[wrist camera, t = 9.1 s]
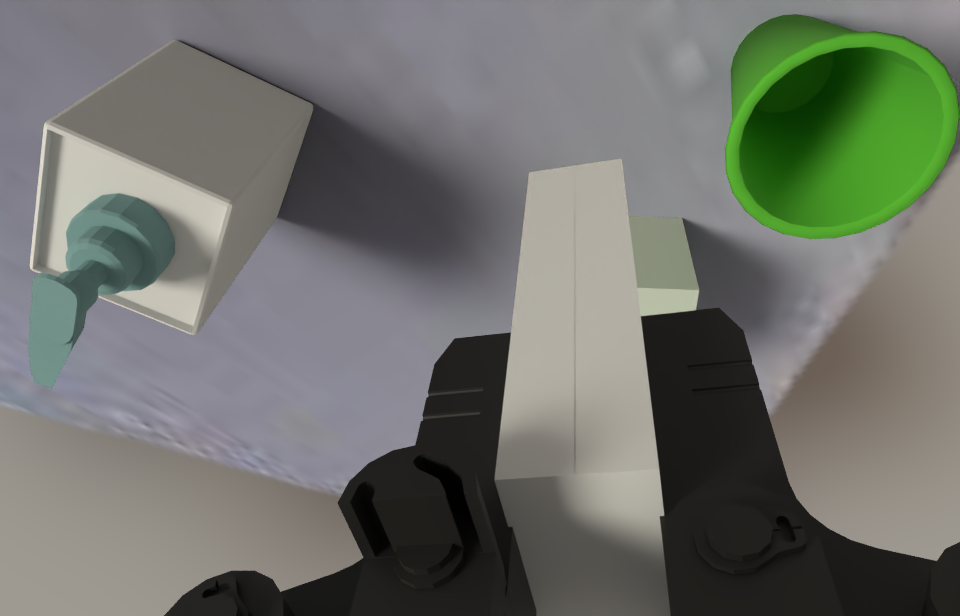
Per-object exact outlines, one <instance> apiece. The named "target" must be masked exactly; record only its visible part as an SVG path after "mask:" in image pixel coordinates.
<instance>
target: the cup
mask: <svg viewBox="0 0 960 616" xmlns="http://www.w3.org/2000/svg"><path fill="white" fill-rule="evenodd" d="M731 91H732V123H731V126H730V130H729V134H728V138H727V143H726V147H725V160H726V174H727V177H728V180H729V183H730V186H731V189H732V192H733V194H734V195H735V197H736V198H737V200H738V201H739V203H740V204H741V206H742V207H743V208H744V210H745V211H746V212H747V213H749V214H750V215H751V216H752V217H753V218H755V219H756V220H757V221H758V222H760V223H761V224H762V225H764V226H767V227H769V228H771V229H773V230H776V231H778V232H780V233H782V234H786V235H791V236H797V237H802V238H808V239H822V238H838V237H842V236H847V235H851V234H856V233H860V232H863V231H865V230H867V229H870V228H872V227H875V226H877V225H879V224H882V223H884V222H886V221H888V220H889V219H891V218H892V217H894V216H895V215H897V214H899V213H900V212H902V211H903V210H905V209H906V208H908V207H909V206H910V205H911V204H912V203H913V202H915V201H916V200H917V199H918V198H919V197H920V196H921V195H922V194H923V193H924V192H925V191H926V190H927V189H928V188H929V187H930V186H931V184H932V183H933V182H934V180H935V179H936V177H937V176H938V175H939V173H940V172H941V170H942V169H943V168H944V166H945V164H946V162H947V160H948V157H949V155H950V153H951V150H952V148H953V145H954V143H955V140H956V135H957V128H958V121H959V115H960V111H959V104H958V97H957V90H956V87H955V85H954V83H953V81H952V79H951V77H950V75H949V73H948V71H947V69H946V67H945V66H944V65H943V64H942V63H941V62H940V61H939V60H938V59H937V58H936V57H935V56H934V55H933V54H932V53H931V52H930V51H929V50H928V49H927V48H925V47H923V46H921V45H919V44H917V43H915V42H913V41H911V40H909V39H907V38H905V37H902V36H897V35H892V34H886V33H881V32H876V31H873V32H856V31H853V30H849V29H846V28H843V27H840V26H837V25H834V24H830V23H827V22H824V21H821V20H818V19H815V18H812V17H808V16H803V15H797V14H795V15H783V16H779V17H776V18H773V19H770V20H768V21H766V22H764V23H763V24H761V25H759V26H757V27H756V28H755V29H754V30H753V31H752V32H750V33H749V34H748V35H747V36H746V38H745V39H744V40H743V42H742V43H741V44H740V45H739V47H738V49H737V51H736V54H735V56H734V58H733V62H732V67H731Z"/></svg>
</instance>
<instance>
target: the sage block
mask: <svg viewBox="0 0 960 616" xmlns="http://www.w3.org/2000/svg"><path fill="white" fill-rule="evenodd" d="M629 224H630V232H631V241H632V249H633V257H634V265H635V274H636V282H637V290H638V298H639V306H640V315H641V316H648V315H657V314H666V313H676V312H685V311H694V310H696V306H697V300H698V295H699V287H698V283H697V279H696V274H695V270H694V266H693V262H692V258H691V254H690V249H689V245H688V241H687V237H686V233H685V229H684V224H683V220H682V218H673V217H639V216H629Z"/></svg>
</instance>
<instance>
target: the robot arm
mask: <svg viewBox="0 0 960 616" xmlns="http://www.w3.org/2000/svg"><path fill="white" fill-rule="evenodd" d="M428 394H429V397H427V399H426V403H425V407H424V411H423V421H421V424H420V428H419V432H418V437H417V441H416V445H415V446H411V447H407V448H402V449H398V450H393V451H391V452H389V453H387V454H385V455H383V456H381V457H380V458H378V459H376V460H374V461H372V462H370V463H368V464H367V465H366V466H365V467H364V468H363V469H362V470H361V471H360V472H359V473H358V474H357V475H356V476H355V477H353V478H352V479H351V480H350V481H349V483H348V485H347V487H346V488H345V490H344V492H343V494H342V496H341V498H340V499H339V501H338V505H339V507H340V509H341V511H342V513H343V515H344V517H345V519H346V522H347V523H348V526H349V528H350V530H351V532H352V534H353V536H354V538H355V540H356V542H357V544H358V547H359V549H360V551H361V553H362V555H363V557H364V558H363V559H361V560H360V561H358V562H357V563H355V564H354V565H352V566H350V567H348V568H345V569H343V570H341V571H339V572H336V573H334V574H331V575H329V576H325V577H323V578H320V579H317V580H314V581H311V582H308V583H305V584H302V585H299V586H296V587H294V588H291V589H288V590H285V591H282V592H280V591H279V589H278V588H277V586H276V584H275V583H274V581H273V579H271V578H269V577H267V576H265V575H263V574H260V573H258V572H256V571H230V572H227V573H224V574H221V575H218V576H215V577H213V578H210V579H207V580H205V581H204V582H202V583H201V584H199V585H198V586H196V587H195V588H193V589H192V590H190V591H189V592H188V593H186V594H185V595H183V596H182V597H181V598H180V599H179V600H178V601H177V603H175V605H174V606H173V607H172V608H171V609H170V610H169V611H168V612H167V613H166V614H165V615H164V616H960V542H959V543H957V544H955V545H953V546H951V547H948V548H946V549H945V550H944V552H943V553H942V555H941V556H940V558H939V559H938V560H937V561H933V560H929V559H924V558H920V557H915V556H911V555H906V554H901V553H896V552H892V551H888V550H883V549H878V548H875V547H871V546H868V545H865V544H862V543H858V542H855V541H852V540H850V539H847V538H846V537H844V536H842V535H840V534H838V533H836V532H834V531H832V530H830V529H828V528H827V527H826V526H824V525H823V524H822V523H820V522H819V521H818V520H816V519H815V518H814V517H812V516H811V515H810V514H809V513H808V512H807V510H806V509H805V508H804V507H803V506H802V505H801V503H800V502H799V501H798V500H797V499H796V496H795V494H794V492H793V490H792V488H791V486H790V484H789V481H788V478H787V475H786V471H785V468H784V465H783V461H782V458H781V455H780V451H779V448H778V445H777V442H776V438H775V435H774V432H773V428H772V425H771V422H770V418H769V415H768V412H767V408H766V405H765V402H764V398H763V395H762V392H761V390H760V388H759V382H758V378H757V375H756V372H755V369H754V365H752V359H751V355H750V352H749V349H748V345H747V342H746V339H745V335H744V332H743V330H742V329H741V328H740V327H739V326H738V325H737V324H735V323H734V322H733V321H732V320H731V319H730V318H729V317H728V316H727V315H726V314H725V313H724V312H723V311H722V310H721V309H720V308H713V309H704V310H694V311H685V312H676V313H666V314H657V315H648V316H641V315H640V306H639V298H638V290H637V282H636V274H635V265H634V257H633V249H632V241H631V232H630V224H629V216H628V208H627V199H626V191H625V183H624V175H623V166H622V159H616V160H609V161H602V162H596V163H589V164H582V165H576V166H569V167H563V168H556V169H549V170H543V171H536V172H529V179H528V188H527V197H526V206H525V214H524V223H523V232H522V241H521V250H520V259H519V267H518V276H517V285H516V294H515V303H514V312H513V320H512V329H511V333H503V334H493V335H484V336H474V337H465V338H456V339H454V340H453V341H452V343H451V344H450V345H449V346H448V348H447V349H446V350H445V352H444V353H443V354H442V355H441V357H440V358H439V359H438V360H437V362H436V363H435V365H434V369H433V373H432V377H431V382H430V386H429V390H428Z"/></svg>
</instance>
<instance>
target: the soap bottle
mask: <svg viewBox="0 0 960 616" xmlns="http://www.w3.org/2000/svg"><path fill="white" fill-rule="evenodd" d="M312 112H313V105H312V104H311V103H309V102H307V101H305V100H303V99H301V98H298V97H296V96H294V95H292V94H290V93H288V92H286V91H284V90H281V89H279V88H277V87H275V86H273V85H271V84H269V83H267V82H264V81H262V80H260V79H258V78H256V77H254V76H252V75H250V74H247V73H245V72H243V71H241V70H239V69H237V68H235V67H232V66H230V65H228V64H226V63H224V62H222V61H220V60H218V59H215V58H213V57H211V56H209V55H207V54H205V53H203V52H201V51H198V50H196V49H194V48H192V47H190V46H188V45H186V44H184V43H181V42H179V41H177V40H172V41H171V42H169V43H167V44H166V45H164V46H163V47H161V48H160V49H158V50H157V51H155V52H153V53H152V54H150V55H149V56H147V57H146V58H144V59H143V60H141V61H139V62H138V63H136V64H135V65H133V66H132V67H130V68H129V69H127V70H126V71H124V72H122V73H121V74H119V75H118V76H116V77H115V78H113V79H112V80H110V81H108V82H107V83H105V84H104V85H102V86H101V87H99V88H98V89H96V90H94V91H93V92H91V93H90V94H88V95H87V96H85V97H84V98H82V99H80V100H79V101H77V102H76V103H74V104H73V105H71V106H70V107H68V108H66V109H65V110H63V111H62V112H60V113H59V114H57V115H56V116H54V117H52V118H51V119H49V120H48V121H47V122H46V123H45V124H44V130H43V140H42V150H41V160H40V170H39V180H38V189H37V199H36V209H35V219H34V229H33V238H32V248H31V258H30V269H32V270H33V271H35V272H37V273H40V274H37V275H36V277H35V278H34V280H33V291H32V304H31V313H30V330H29V362H30V369H31V374H32V376H33V379H34V382H35V383H37V384H40V385H42V386H45V387H48V388H50V389H53V386H54V384H55V382H56V380H57V378H58V375H59V373H60V371H61V369H62V368H63V366H64V364H65V362H66V360H67V358H68V356H69V354H70V352H71V350H72V348H73V346H74V344H75V343H76V341H77V339H78V337H79V336H80V334H81V332H82V330H83V328H84V324H85V318H86V312H87V310H88V309H89V308H90V307H91V306H92V305H93V304H94V303H95V302H96V300H97V298H98V297H99V298H102V299H104V300H107V301H109V302H112V303H114V304H117V305H119V306H122V307H124V308H126V309H129V310H131V311H134V312H136V313H139V314H141V315H144V316H146V317H149V318H151V319H154V320H156V321H159V322H161V323H164V324H166V325H169V326H171V327H173V328H176V329H178V330H181V331H183V332H186V333H188V334H191V335H196V334H197V333H198V332H199V331H200V329H201V328H202V326H203V325H204V323H205V322H206V320H207V319H208V318H209V316H210V315H211V313H212V312H213V310H214V309H215V307H216V306H217V304H218V303H219V301H220V300H221V299H222V297H223V296H224V294H225V293H226V291H227V290H228V288H229V287H230V285H231V284H232V282H233V281H234V280H235V278H236V277H237V275H238V274H239V272H240V271H241V269H242V268H243V266H244V265H245V264H246V262H247V261H248V259H249V258H250V256H251V255H252V253H253V252H254V250H255V249H256V247H257V246H258V245H259V243H260V242H261V240H262V239H263V237H264V236H265V234H266V233H267V231H268V230H269V228H270V227H271V226H272V224H273V223H274V221H275V220H276V218H277V216H278V213H279V210H280V207H281V204H282V201H283V198H284V195H285V193H286V190H287V187H288V184H289V181H290V178H291V175H292V172H293V169H294V166H295V163H296V160H297V157H298V154H299V151H300V148H301V145H302V142H303V139H304V136H305V133H306V130H307V127H308V124H309V121H310V118H311V115H312Z"/></svg>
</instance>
